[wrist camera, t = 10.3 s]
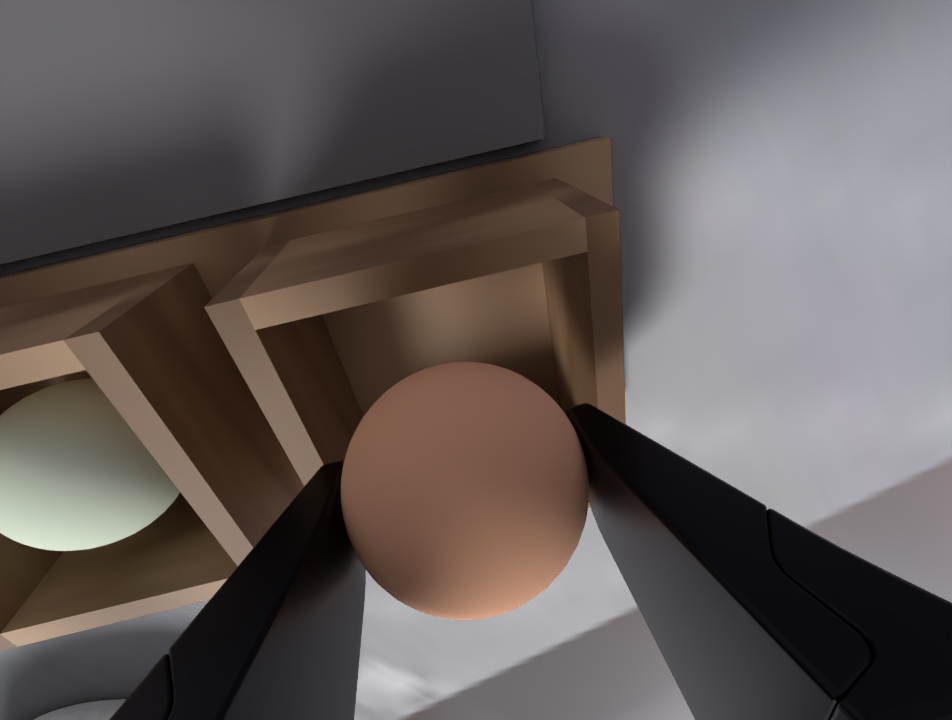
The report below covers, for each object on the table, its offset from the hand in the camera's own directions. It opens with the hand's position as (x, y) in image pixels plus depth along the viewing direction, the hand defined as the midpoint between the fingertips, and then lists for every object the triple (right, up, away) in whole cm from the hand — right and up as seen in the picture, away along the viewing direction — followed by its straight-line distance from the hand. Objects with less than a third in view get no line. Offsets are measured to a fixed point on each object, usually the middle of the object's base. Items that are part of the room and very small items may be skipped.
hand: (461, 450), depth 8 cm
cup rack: (-5, +2, +5) cm, 7 cm away
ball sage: (-9, 0, +4) cm, 10 cm away
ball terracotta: (0, +1, +1) cm, 1 cm away
